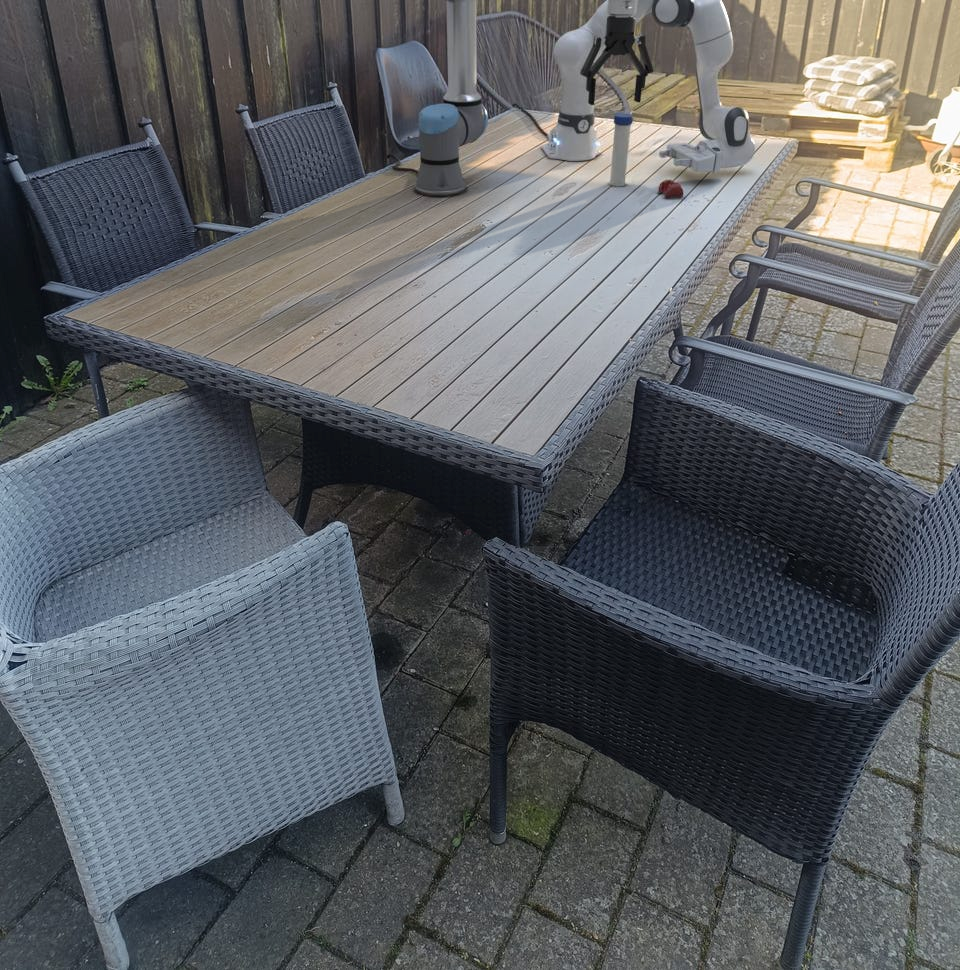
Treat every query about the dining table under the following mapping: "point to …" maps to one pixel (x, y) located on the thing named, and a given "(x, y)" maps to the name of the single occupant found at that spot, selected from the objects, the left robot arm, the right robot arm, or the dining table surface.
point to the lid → (623, 119)
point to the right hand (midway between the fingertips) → (667, 158)
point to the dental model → (670, 189)
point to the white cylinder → (620, 155)
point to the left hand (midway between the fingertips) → (614, 102)
